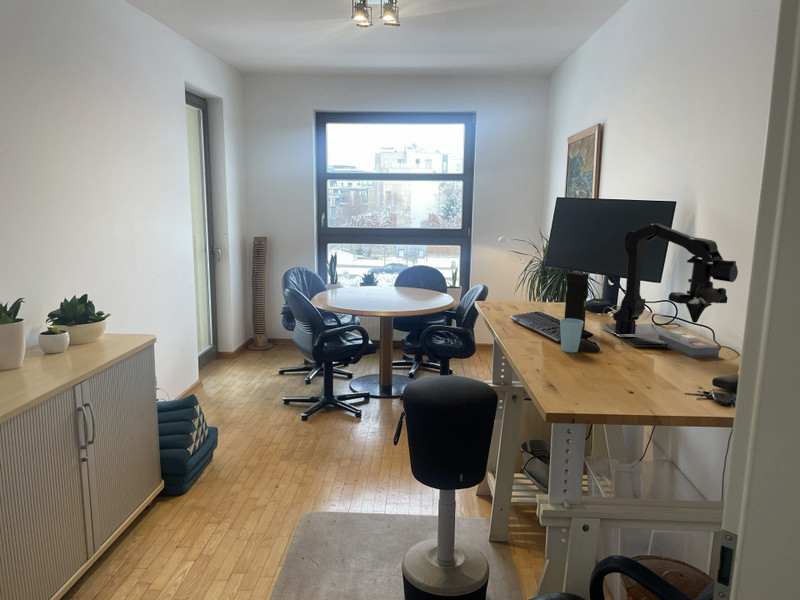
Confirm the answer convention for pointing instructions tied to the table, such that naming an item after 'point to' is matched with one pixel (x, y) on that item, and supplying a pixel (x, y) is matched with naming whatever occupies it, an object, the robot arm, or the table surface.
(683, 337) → the cream key
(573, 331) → the cup
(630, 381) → the table surface
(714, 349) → the keypad
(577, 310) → the portable radio
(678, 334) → the sage key
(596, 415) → the table surface
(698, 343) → the terracotta key
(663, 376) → the table surface
